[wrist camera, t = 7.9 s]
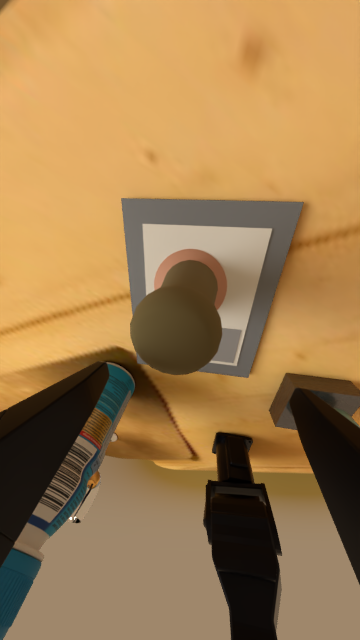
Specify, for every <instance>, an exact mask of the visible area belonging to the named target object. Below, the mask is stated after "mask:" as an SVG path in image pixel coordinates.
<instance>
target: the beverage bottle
mask: <svg viewBox="0 0 360 640" xmlns="http://www.w3.org/2000/svg"><path fill="white" fill-rule="evenodd" d="M107 364H108V369H109V374H110V375H109V379H108V381H107V384H106V386H105V388H104V390H103V392H102V394H101V396H100V398H99V401H98V403H97V405H96V407H95V409H94V410H93V412H92V414H91V416H90V417H89V419H88V421H87V422H86V424H85V426H84V427H83V429H82V431H81V432H80V434H79V436H78V437H77V439H76V441H75V443H74V444H73V446H72V448H71V449H70V451H69V453H68V454H67V456H66V458H65V459H64V461H63V463H62V465H61V466H60V468H59V470H58V471H57V473H56V475H55V476H54V478H53V480H52V481H51V483H50V485H49V487H48V488H47V490H46V492H45V493H44V495H43V497H42V498H41V500H40V502H39V503H38V505H37V507H36V508H35V510H34V512H33V514H32V515H31V517H30V519H29V520H28V522H27V524H26V525H25V527H24V529H23V530H22V532H21V534H20V536H19V537H18V539H17V541H16V542H15V544H14V546H13V548H12V549H11V551H10V553H9V554H8V556H7V558H6V560H5V561H4V563H3V565H2V566H1V568H0V640H3V638H4V637H5V635H6V633H7V631H8V629H9V627H11V625H12V623H13V621H14V619H15V617H16V615H17V614H18V611H19V609H20V607H21V606H22V604H23V602H24V600H25V598H26V595H27V593H28V592H29V590H30V588H31V586H32V584H33V580H34V579H35V577H36V575H37V573H38V571H39V569H40V566H41V562H42V560H43V558H44V555H43V554H42V553H41V552H39V549H40V548H41V547H42V545H43V544H44V542H45V541H46V540H47V539H48V538H50V536H52V535H53V534H54V533H55V532H56V531H57V530H58V529H59V528H60V527H61V526H62V525H63V524H64V523H65V522H66V521H67V520H68V518H69V517H70V516H71V515H72V514H73V513H74V511H75V510H76V509H77V507H78V506H79V504H80V503H81V502H82V500H83V498H84V497H85V494H86V491H87V483H88V481H89V479H90V478H91V477H92V476H93V475H94V473H95V472H96V471H97V470H98V469H99V467H100V465H101V463H102V461H103V459H104V456H105V451H106V449H107V447H108V444H109V442H110V440H111V438H112V436H113V434H114V431H115V429H116V427H117V425H118V423H119V421H120V419H121V416H122V414H123V412H124V410H125V408H126V406H127V404H128V402H129V400H130V398H131V396H132V394H133V392H134V389H135V382H134V379H133V377H132V375H131V374H130V373H129V372H128V371H127V370H126V369H125V368H123V367H121V366H120V365H117V364H115V363H111V362H107Z"/></svg>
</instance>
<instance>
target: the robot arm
mask: <svg viewBox="0 0 360 640" xmlns="http://www.w3.org/2000/svg"><path fill="white" fill-rule="evenodd" d="M109 375H110V374H109V369H108V364H107V362H103V361H98V362H96V363H94V364H92V365H90V366H88V367H86V368H84V369H82V370H80V371H78V372H76V373H75V374H73V375H71V376H69V377H67V378H65V379H63V380H61V381H59V382H57V383H55V384H54V385H52V386H50V387H48V388H46V389H44V390H42V391H40V392H38V393H36V394H34V395H32V396H31V397H29V398H27V399H25V400H23V401H21V402H19V403H17V404H15V405H13V406H11V407H9V408H8V409H6V410H4V411H2V412H0V568H1V566H2V565H3V563H4V561H5V560H6V558H7V556H8V554H9V553H10V551H11V549H12V548H13V546H14V544H15V542H16V541H17V539H18V537H19V536H20V534H21V532H22V530H23V529H24V527H25V525H26V524H27V522H28V520H29V519H30V517H31V515H32V514H33V512H34V510H35V508H36V507H37V505H38V503H39V502H40V500H41V498H42V497H43V495H44V493H45V492H46V490H47V488H48V487H49V485H50V483H51V481H52V480H53V478H54V476H55V475H56V473H57V471H58V470H59V468H60V466H61V465H62V463H63V461H64V459H65V458H66V456H67V454H68V453H69V451H70V449H71V448H72V446H73V444H74V443H75V441H76V439H77V437H78V436H79V434H80V432H81V431H82V429H83V427H84V426H85V424H86V422H87V421H88V419H89V417H90V416H91V414H92V412H93V410H94V409H95V407H96V405H97V403H98V401H99V398H100V396H101V394H102V392H103V390H104V388H105V386H106V384H107V381H108V379H109ZM289 404H290V408H291V411H292V414H293V417H294V421H295V424H296V427H297V430H298V434H299V437H300V440H301V443H302V445H303V448H304V450H305V453H306V455H307V458H308V460H309V463H310V465H311V467H312V470H313V472H314V474H315V477H316V479H317V482H318V484H319V487H320V489H321V492H322V494H323V497H324V499H325V502H326V504H327V506H328V509H329V511H330V514H331V516H332V518H333V521H334V523H335V526H336V528H337V531H338V533H339V535H340V538H341V541H342V543H343V545H344V548H345V550H346V553H347V555H348V558H349V560H350V562H351V565H352V567H353V570H354V572H355V574H356V577H357V579H358V582H359V584H360V428H359V427H358V426H357V425H355V424H354V423H353V422H351V421H350V420H349V419H347V418H346V417H345V416H343V415H342V414H341V413H339V412H338V411H337V410H335V409H334V408H333V407H331V406H330V405H329V404H327V403H326V402H325V401H323V400H322V399H320V398H319V397H318V396H316V395H315V394H314V393H312V392H311V391H310V390H308V389H306V388H300V387H297V388H295V389H294V391H293V393H292V395H291V398H290V400H289ZM252 443H253V441H252V439H251V438H248V437H242V436H236V435H230V434H224V433H216V435H215V439H214V444H213V448H212V453H214V454H216V456H217V474H218V481H211V480H208V484H207V485H206V502H205V510H204V519H203V522H204V527H205V528H206V530H207V535H208V542H209V544H210V545H212V558H213V562H214V565H215V568H216V571H217V574H218V577H219V580H220V583H221V586H222V589H223V592H224V595H225V598H226V601H227V604H228V606H229V613H230V627H231V640H277V636H276V628H277V620H278V613H279V605H280V596H281V578H280V569H279V563H278V559H277V555H280V556H282V552H281V546H280V542H279V538H278V533H277V529H276V525H275V521H274V517H273V513H272V510H271V506H270V502H269V499H268V495H267V491H266V488H265V484H264V483H261V484H255V483H254V478H253V474H252V468H251V464H250V459H249V454H248V452H249V450H250V447H251V445H252Z"/></svg>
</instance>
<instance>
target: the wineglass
mask: <svg viewBox="0 0 360 640" xmlns="http://www.w3.org/2000/svg"><path fill="white" fill-rule="evenodd" d="M116 440H117V435H116V434H115V433H114V434H113V436H112V438H111V440H110V441H111V442H113V441H116ZM100 483H101V476H100V473H99V471H98V470H97V471H96V472H95V473H94V475H93V476H92V477H91V478H90V479H89V481H88V483H87V491H86V494H85V497H84V498H83V500H82V502H81V503H80V504H79V506H78V507H77V509H76V510H75V511H74V513H73V514H72V515H71V516H70V517H69V518H68V520H67V521H69V522H72V523H81V521H82V520H83V518H84V517H85V515H86V513H87V512H88V510H89V508H90V506H91V505H92V503H93V501H94V499H95V497H96V495H97V492H98V490H99V487H100Z"/></svg>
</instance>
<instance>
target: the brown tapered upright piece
mask: <svg viewBox="0 0 360 640" xmlns="http://www.w3.org/2000/svg"><path fill="white" fill-rule="evenodd" d="M217 291H218V285H217V279H216V277H215V275H214V273H213V271H212V270H211V269H210V268H209V267H208V266H207V265H205V264H203V263H201V262H199V261H194V260H186V261H181V262H179V263H177V264H175V265H174V266H172V267H171V269H170V270H169V271H168V272H167V274H166V276H165V278H164V281H163V283H162V285H161V287H160V288H158V289H157V290H155V291H153V292H151V293H149V294H148V295H147V296H145V298H144V299H143V300H142V301H141V302H140V303H139V304H138V306H137V307H136V309H135V312H134V315H133V318H132V320H131V323H130V334H131V339H132V342H133V345H134V348H135V351H136V352H137V354H138V355H139V356H140V358H141V359H142V360H143V361H144V362H145V363H147V364H148V365H149V366H150V367H152V368H154V369H156V370H158V371H160V372H163V373H168V374H173V375H183V374H189V373H192V372H195V371H198V370H199V369H201V368H202V367H204V366H205V365H207V364H208V363H209V362H210V361H211V360H212V359H213V357H214V356H215V355H216V353H217V352H218V349H219V345H220V342H221V338H222V324H221V318H220V316H219V314H218V311H217V309H216V307H215V305H214V304H215V300H216V295H217Z"/></svg>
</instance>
